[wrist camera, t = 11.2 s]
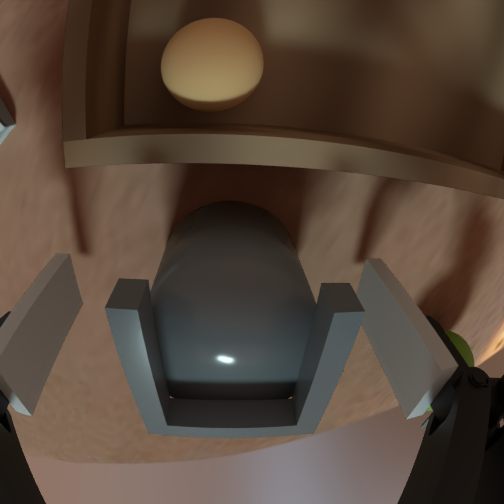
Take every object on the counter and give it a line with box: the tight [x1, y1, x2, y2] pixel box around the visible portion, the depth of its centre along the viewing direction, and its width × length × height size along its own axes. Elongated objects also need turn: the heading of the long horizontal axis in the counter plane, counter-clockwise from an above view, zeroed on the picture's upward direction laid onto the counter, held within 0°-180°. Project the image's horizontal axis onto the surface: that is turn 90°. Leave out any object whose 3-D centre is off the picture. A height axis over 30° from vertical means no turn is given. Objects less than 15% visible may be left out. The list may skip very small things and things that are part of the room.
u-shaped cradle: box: [105, 201, 365, 438], centre depth 11 cm, size 6×6×7 cm
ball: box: [161, 18, 264, 112], centre depth 8 cm, size 3×3×3 cm
